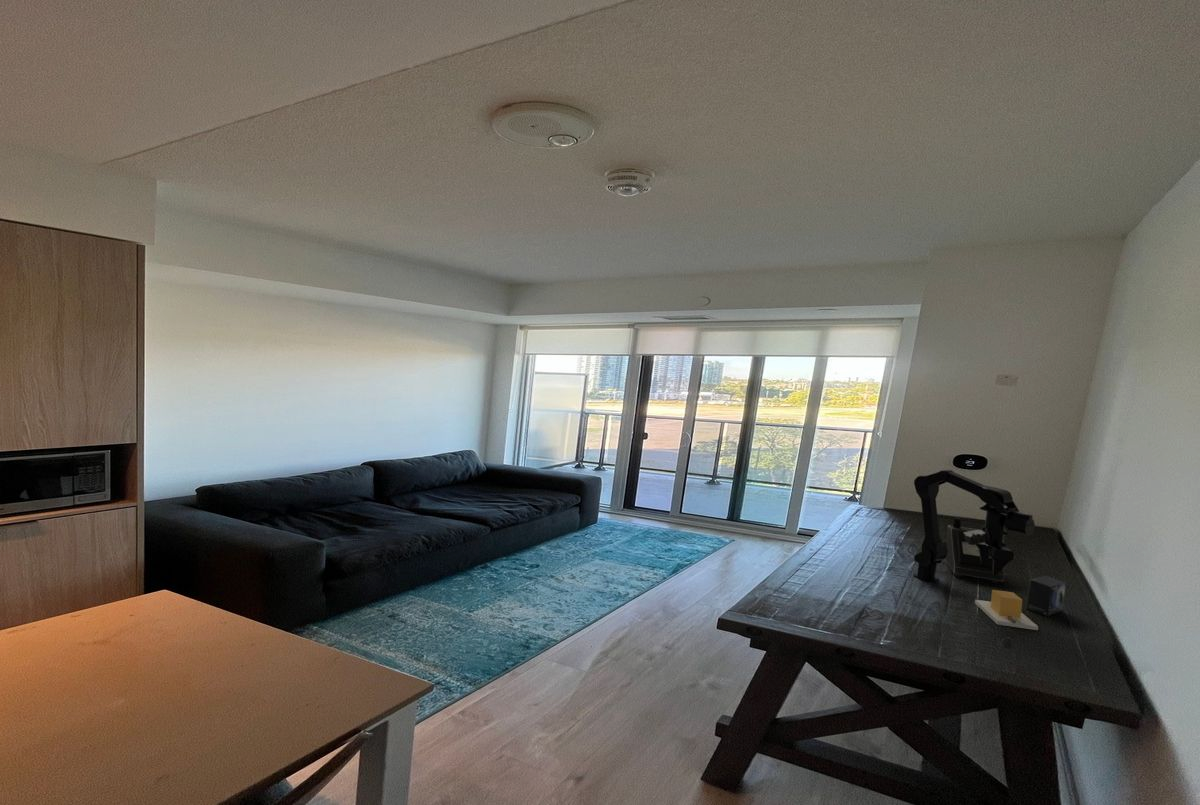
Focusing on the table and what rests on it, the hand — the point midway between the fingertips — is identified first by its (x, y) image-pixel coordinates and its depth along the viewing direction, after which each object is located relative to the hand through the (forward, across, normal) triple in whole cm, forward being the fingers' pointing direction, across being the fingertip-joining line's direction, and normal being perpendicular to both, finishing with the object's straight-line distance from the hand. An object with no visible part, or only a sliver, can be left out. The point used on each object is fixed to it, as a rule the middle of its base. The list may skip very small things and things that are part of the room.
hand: (988, 569), depth 185 cm
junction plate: (+11, +11, +2) cm, 16 cm away
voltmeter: (+12, -29, +7) cm, 32 cm away
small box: (+11, +1, +18) cm, 21 cm away
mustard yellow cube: (+10, +11, +2) cm, 15 cm away
